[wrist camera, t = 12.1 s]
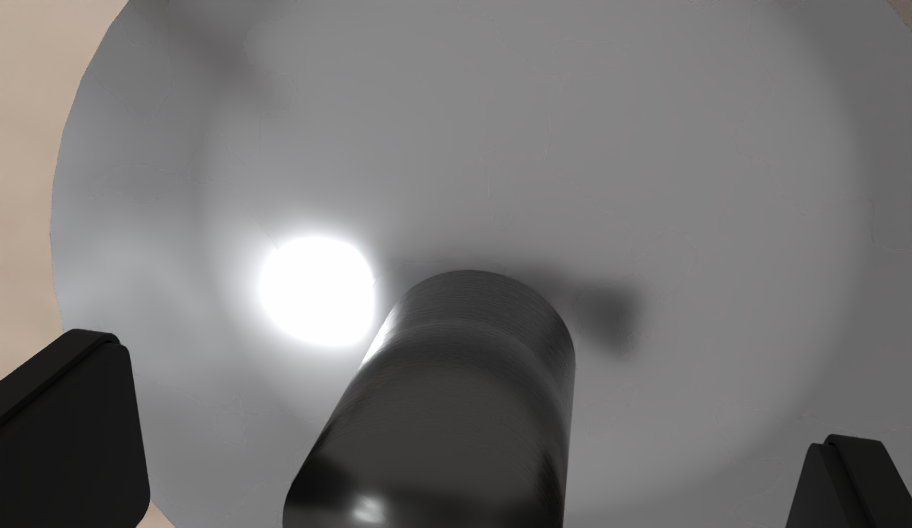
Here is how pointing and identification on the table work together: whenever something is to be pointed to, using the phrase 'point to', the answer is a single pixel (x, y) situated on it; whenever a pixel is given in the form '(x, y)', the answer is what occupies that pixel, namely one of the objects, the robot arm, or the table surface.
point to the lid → (495, 254)
